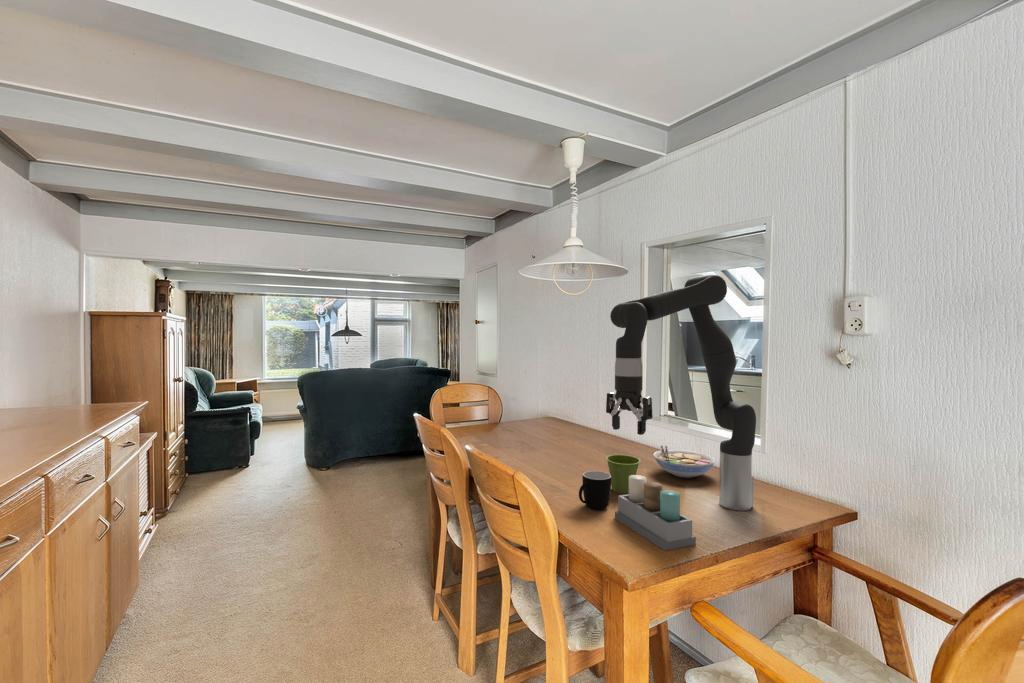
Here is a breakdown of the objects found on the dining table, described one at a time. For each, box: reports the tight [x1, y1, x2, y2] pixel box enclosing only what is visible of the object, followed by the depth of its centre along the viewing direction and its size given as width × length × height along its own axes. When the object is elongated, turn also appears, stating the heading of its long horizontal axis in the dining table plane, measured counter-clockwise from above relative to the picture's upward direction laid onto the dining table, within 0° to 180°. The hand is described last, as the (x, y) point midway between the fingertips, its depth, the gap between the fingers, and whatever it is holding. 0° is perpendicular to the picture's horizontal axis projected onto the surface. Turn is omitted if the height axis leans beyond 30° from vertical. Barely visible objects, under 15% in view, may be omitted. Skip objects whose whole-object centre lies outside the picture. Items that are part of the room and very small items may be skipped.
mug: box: [578, 470, 612, 511], centre depth 142 cm, size 12×9×10 cm
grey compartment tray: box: [614, 493, 697, 552], centre depth 126 cm, size 10×22×6 cm, turn 21°
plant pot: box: [605, 454, 641, 495], centre depth 158 cm, size 12×12×11 cm
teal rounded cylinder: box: [660, 489, 681, 522], centre depth 119 cm, size 5×5×6 cm
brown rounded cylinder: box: [644, 481, 664, 512], centre depth 126 cm, size 5×5×6 cm
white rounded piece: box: [629, 474, 647, 503], centre depth 133 cm, size 5×5×6 cm
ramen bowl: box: [653, 445, 716, 479], centre depth 176 cm, size 25×23×8 cm
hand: (628, 431), depth 127 cm, fingers open, 8 cm apart
